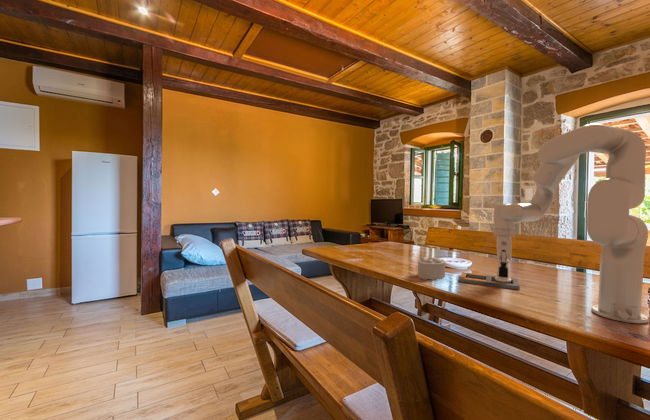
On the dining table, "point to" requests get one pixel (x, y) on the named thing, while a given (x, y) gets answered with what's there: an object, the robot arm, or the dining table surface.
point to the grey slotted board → (488, 281)
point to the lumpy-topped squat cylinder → (431, 268)
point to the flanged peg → (502, 279)
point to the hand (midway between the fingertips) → (503, 275)
